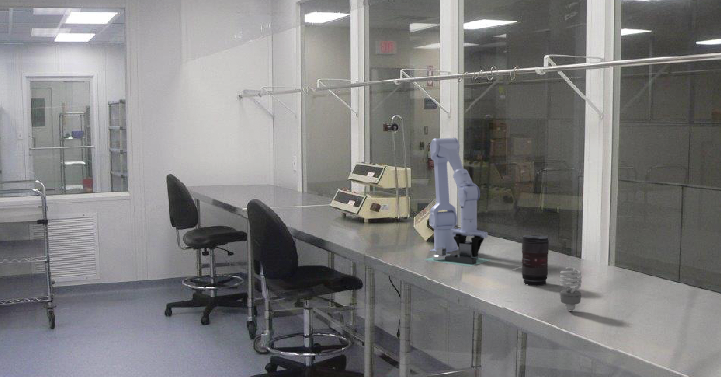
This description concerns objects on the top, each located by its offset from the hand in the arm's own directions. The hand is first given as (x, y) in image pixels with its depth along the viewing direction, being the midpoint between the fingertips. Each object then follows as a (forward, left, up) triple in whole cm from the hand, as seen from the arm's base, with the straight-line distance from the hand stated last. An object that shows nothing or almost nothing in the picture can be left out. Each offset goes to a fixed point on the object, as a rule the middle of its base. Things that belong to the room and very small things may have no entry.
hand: (468, 255), depth 273 cm
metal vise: (+6, -3, -1) cm, 7 cm away
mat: (+3, -3, -2) cm, 5 cm away
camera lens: (+20, +37, -2) cm, 42 cm away
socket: (0, 0, -1) cm, 1 cm away
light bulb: (+44, +60, -2) cm, 74 cm away
